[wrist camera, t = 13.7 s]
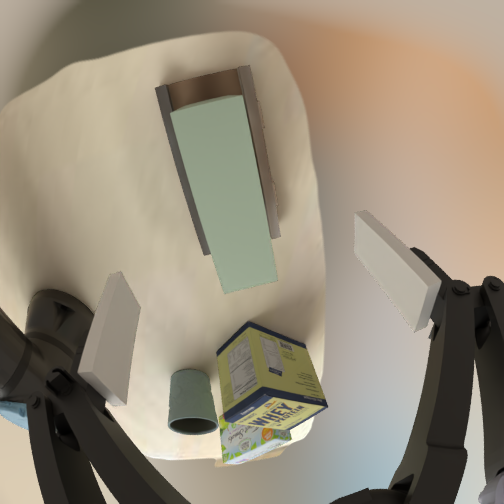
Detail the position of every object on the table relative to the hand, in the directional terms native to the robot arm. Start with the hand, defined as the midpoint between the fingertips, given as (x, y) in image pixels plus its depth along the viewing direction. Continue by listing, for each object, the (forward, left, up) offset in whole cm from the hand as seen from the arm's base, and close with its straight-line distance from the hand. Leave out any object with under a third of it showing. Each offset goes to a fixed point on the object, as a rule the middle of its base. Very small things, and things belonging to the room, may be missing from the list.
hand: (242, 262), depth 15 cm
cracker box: (0, 0, -21) cm, 21 cm away
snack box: (-9, -60, -23) cm, 65 cm away
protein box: (-1, -37, -23) cm, 43 cm away
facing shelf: (0, 0, -22) cm, 22 cm away
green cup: (-18, -43, -23) cm, 52 cm away
